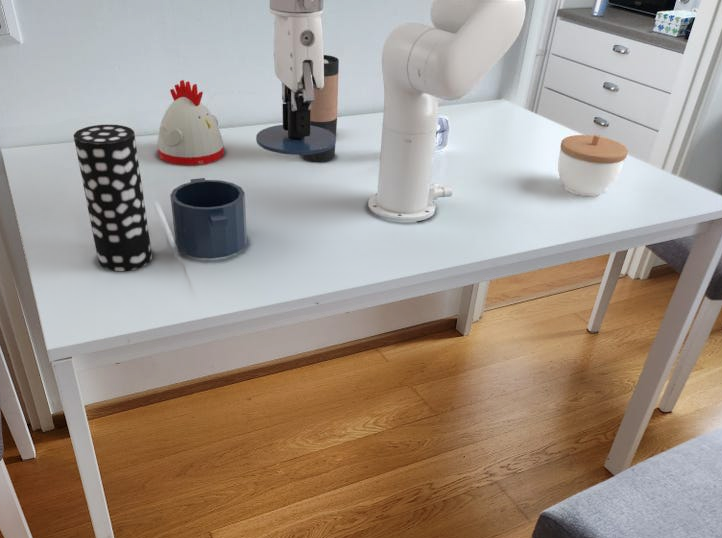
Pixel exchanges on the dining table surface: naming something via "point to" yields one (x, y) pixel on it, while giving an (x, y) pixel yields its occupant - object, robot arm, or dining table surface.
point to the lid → (295, 140)
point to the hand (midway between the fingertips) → (296, 131)
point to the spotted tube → (114, 196)
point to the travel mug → (325, 107)
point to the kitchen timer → (189, 130)
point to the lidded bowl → (590, 163)
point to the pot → (209, 218)
